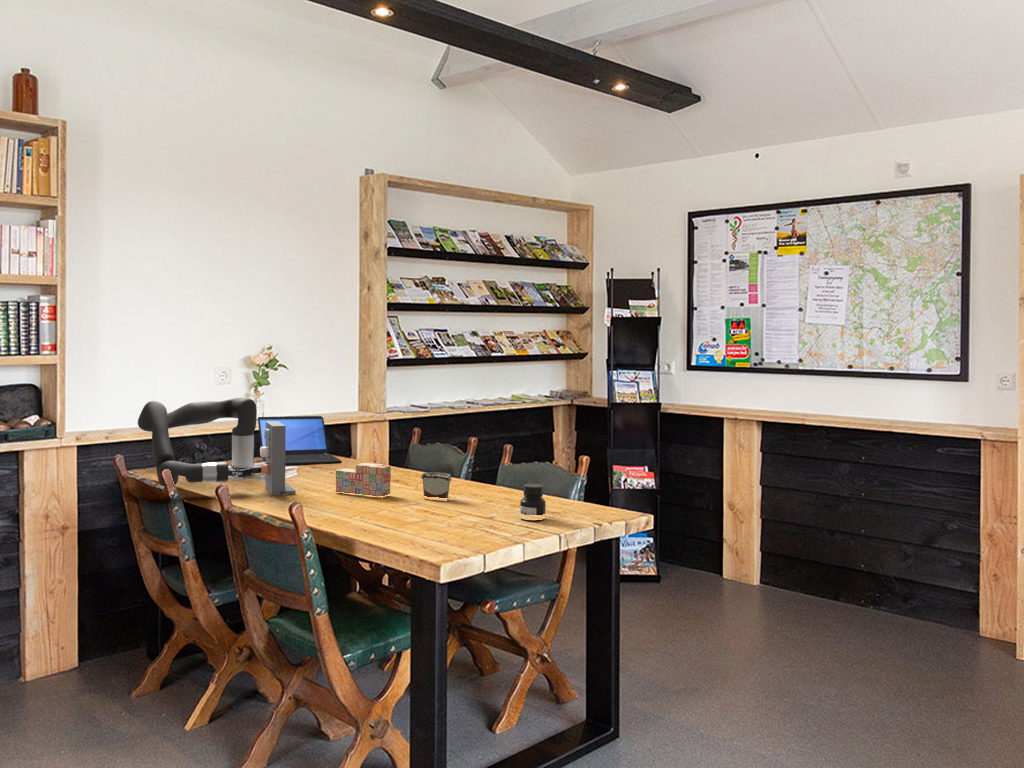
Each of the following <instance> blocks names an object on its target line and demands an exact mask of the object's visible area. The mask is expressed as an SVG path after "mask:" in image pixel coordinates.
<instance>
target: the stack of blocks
mask: <svg viewBox="0 0 1024 768" xmlns="http://www.w3.org/2000/svg"><path fill="white" fill-rule="evenodd" d="M391 468H392V466H391V465H388V464H387V465H385V464H381V463H368V462H361V463H358V464H356V465H355V469H354V468H341V469H336V470H335V493H336V492H344V493H355V494H363V495H372V496H385V495H388V494H390V495H391V475H392V474H391V473H392V472H391V471H392V470H391Z"/></svg>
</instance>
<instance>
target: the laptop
mask: <svg viewBox="0 0 1024 768" xmlns="http://www.w3.org/2000/svg"><path fill="white" fill-rule="evenodd" d="M266 421H279V422H280V423H282V424H284V425H285V426H286V442H285V465H286V466H303V465H304V466H306V465H325V464H329V465H330V464H341V463H342V460H341V459H339V458H338V457H335V456H334V455H333V454H330V453H329V447H328V439H327V434H326V427H325V421H324V417H322V415H307V416H306V415H301V416H300V415H298V416H297V415H296V416H293V415H291V416H289V415H288V416H258V417H257V423H258V433H259V441H260V447H266V439H264V429H266ZM261 458H262V459H263V460H265V461H266V457H261Z"/></svg>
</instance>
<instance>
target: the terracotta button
mask: <svg viewBox="0 0 1024 768" xmlns="http://www.w3.org/2000/svg"><path fill="white" fill-rule="evenodd" d="M259 467H261V473H260V475H261V476H262V475H263V476H265V475H268V474H270V464H265V463H264V464H260V466H259Z"/></svg>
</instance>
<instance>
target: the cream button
mask: <svg viewBox="0 0 1024 768" xmlns="http://www.w3.org/2000/svg"><path fill="white" fill-rule="evenodd" d="M259 455H260V457H261V458H262V457H270V447H261V446H260V448H259Z"/></svg>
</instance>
